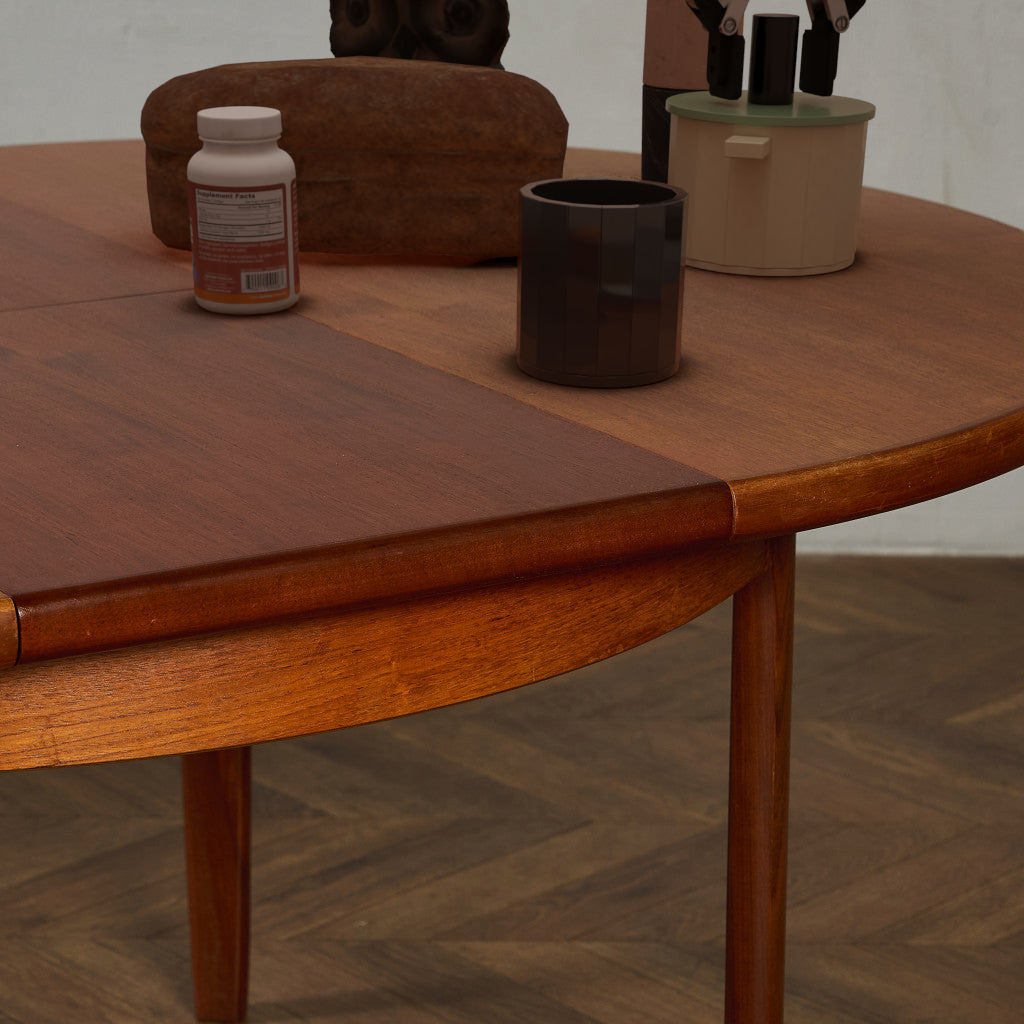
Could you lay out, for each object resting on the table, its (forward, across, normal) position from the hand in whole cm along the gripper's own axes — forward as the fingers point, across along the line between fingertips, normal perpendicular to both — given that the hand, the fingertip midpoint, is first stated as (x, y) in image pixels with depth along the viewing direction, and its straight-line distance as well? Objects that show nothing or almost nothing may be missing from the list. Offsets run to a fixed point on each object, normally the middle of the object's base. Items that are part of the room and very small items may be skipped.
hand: (770, 93), depth 107 cm
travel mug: (+11, +6, +22) cm, 25 cm away
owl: (+11, -12, +31) cm, 35 cm away
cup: (+11, -22, -21) cm, 32 cm away
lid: (+1, 0, 0) cm, 1 cm away
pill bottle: (+11, -36, -2) cm, 37 cm away
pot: (+11, 0, 0) cm, 11 cm away
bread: (+11, -25, +11) cm, 29 cm away
